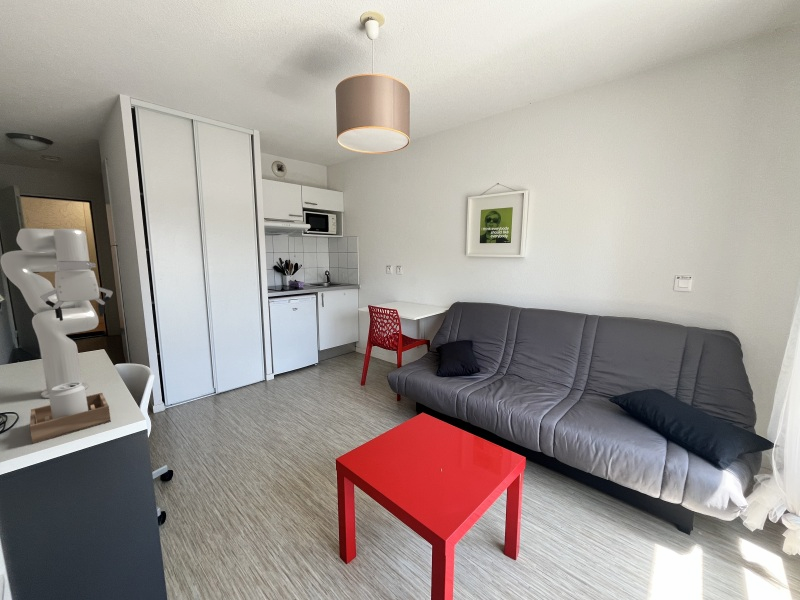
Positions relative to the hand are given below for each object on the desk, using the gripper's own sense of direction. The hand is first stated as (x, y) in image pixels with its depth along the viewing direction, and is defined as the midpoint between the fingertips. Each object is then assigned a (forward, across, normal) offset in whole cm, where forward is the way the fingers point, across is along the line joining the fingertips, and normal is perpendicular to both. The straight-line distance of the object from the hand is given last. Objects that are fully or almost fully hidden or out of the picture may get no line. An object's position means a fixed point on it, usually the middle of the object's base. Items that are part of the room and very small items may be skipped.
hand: (81, 318), depth 109 cm
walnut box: (+30, +6, +14) cm, 34 cm away
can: (+30, +6, +16) cm, 35 cm away
